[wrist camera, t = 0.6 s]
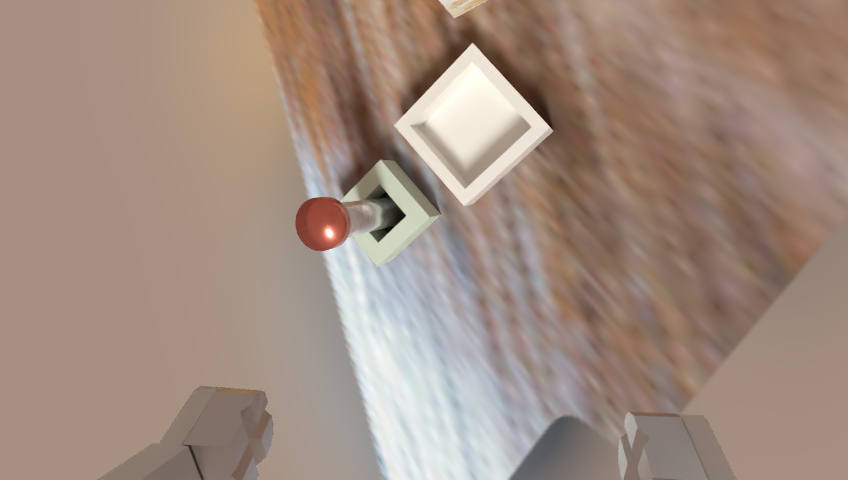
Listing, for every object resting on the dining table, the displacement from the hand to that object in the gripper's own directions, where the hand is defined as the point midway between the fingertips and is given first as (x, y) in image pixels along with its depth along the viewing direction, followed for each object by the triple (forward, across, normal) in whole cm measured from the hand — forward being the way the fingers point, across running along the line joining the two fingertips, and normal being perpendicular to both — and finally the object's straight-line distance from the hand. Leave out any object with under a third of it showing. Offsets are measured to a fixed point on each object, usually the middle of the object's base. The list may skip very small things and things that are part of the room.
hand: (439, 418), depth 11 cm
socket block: (+42, +9, +16) cm, 46 cm away
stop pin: (+42, +9, +16) cm, 46 cm away
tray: (+44, -1, +7) cm, 44 cm away
